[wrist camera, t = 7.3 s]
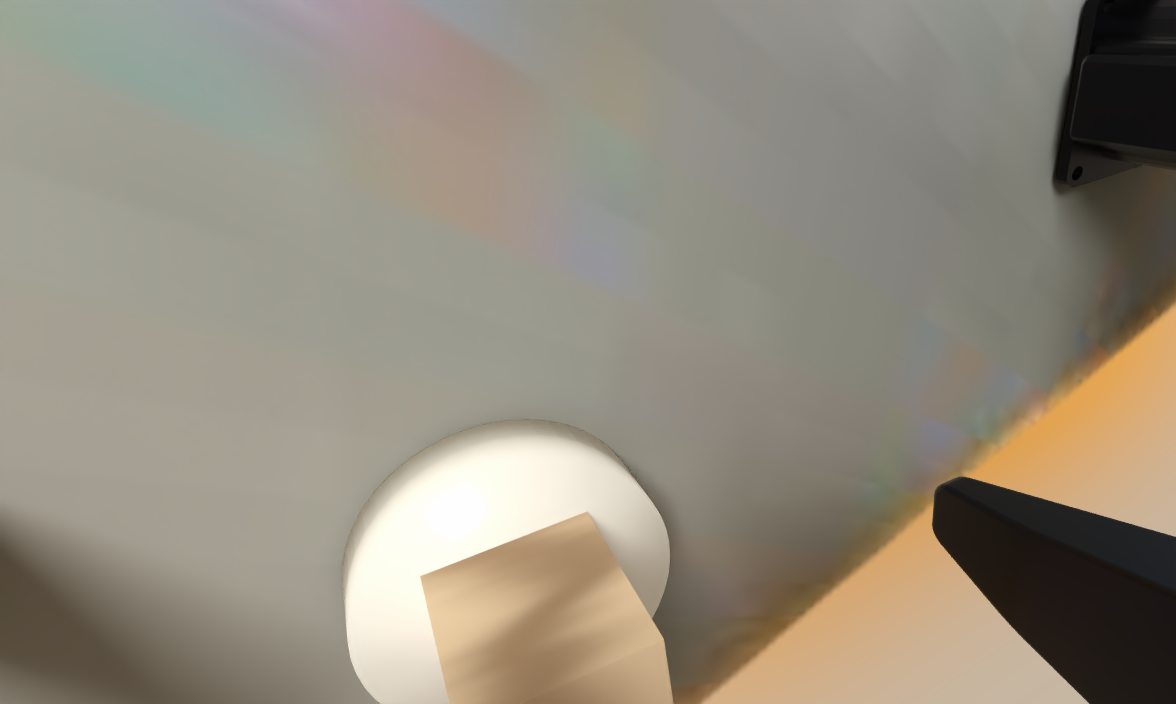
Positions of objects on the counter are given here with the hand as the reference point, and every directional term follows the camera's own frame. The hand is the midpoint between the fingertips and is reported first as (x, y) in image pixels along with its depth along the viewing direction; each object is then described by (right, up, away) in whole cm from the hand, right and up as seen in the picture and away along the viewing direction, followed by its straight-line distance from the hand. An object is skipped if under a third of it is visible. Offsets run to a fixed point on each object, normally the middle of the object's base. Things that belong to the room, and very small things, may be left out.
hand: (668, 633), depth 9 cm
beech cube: (-3, -4, +12) cm, 13 cm away
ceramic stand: (-4, -3, +14) cm, 15 cm away
